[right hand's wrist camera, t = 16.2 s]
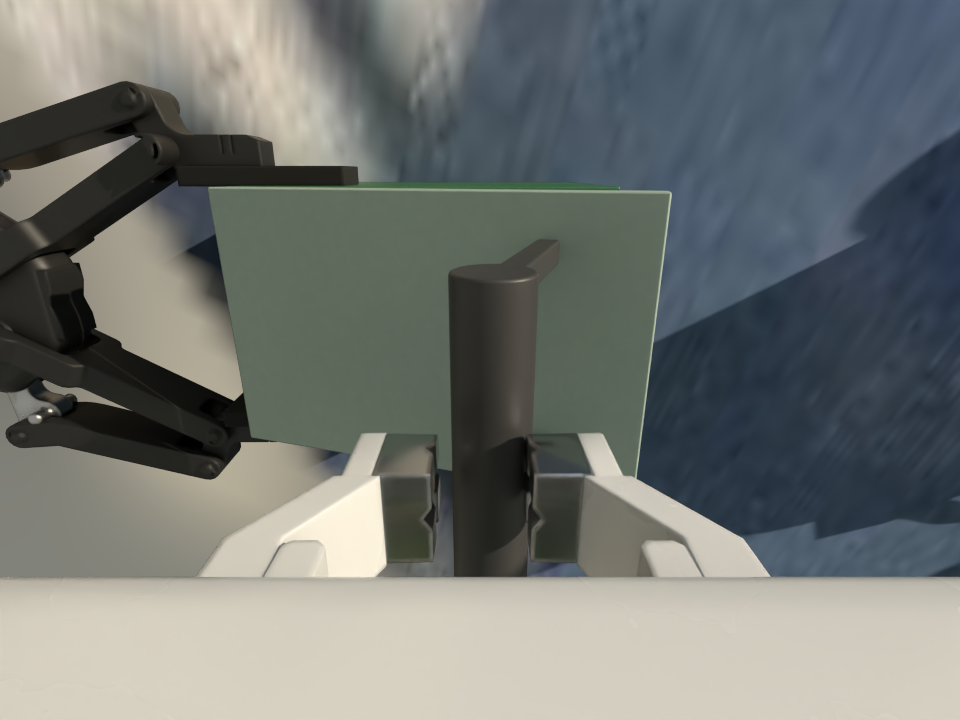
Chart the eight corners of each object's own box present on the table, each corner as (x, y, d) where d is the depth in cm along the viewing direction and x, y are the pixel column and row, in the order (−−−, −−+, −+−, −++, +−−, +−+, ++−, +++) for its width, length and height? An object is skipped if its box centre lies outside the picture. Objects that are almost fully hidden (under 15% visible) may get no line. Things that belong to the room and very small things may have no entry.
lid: (670, 190, 15) (698, 208, 7) (633, 483, 18) (628, 697, 11) (229, 186, 19) (-36, 194, 11) (268, 426, 22) (83, 551, 15)
